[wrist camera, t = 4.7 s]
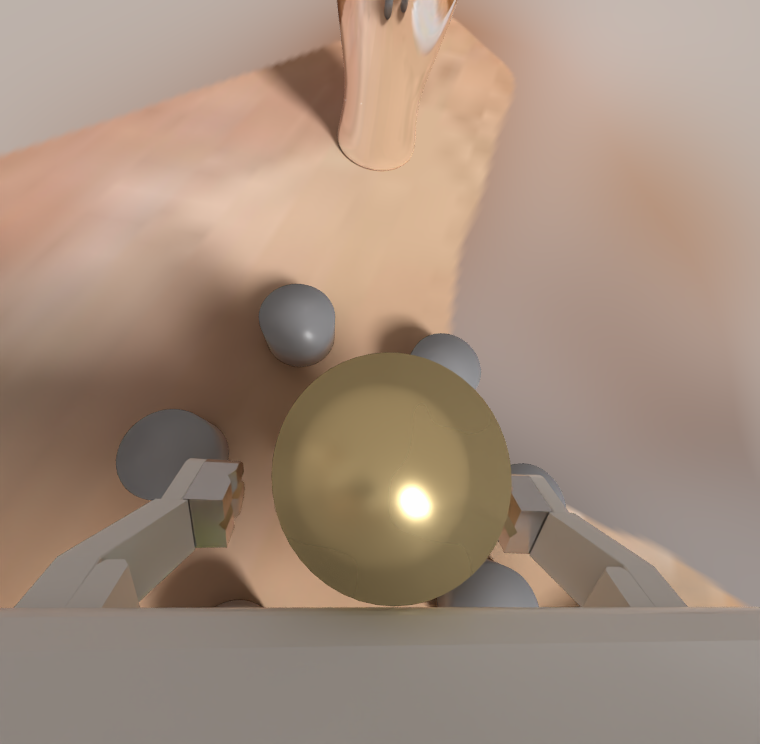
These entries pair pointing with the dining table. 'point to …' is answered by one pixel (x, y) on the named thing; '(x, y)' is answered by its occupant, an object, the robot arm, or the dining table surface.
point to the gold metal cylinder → (391, 479)
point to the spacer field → (303, 348)
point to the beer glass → (386, 75)
